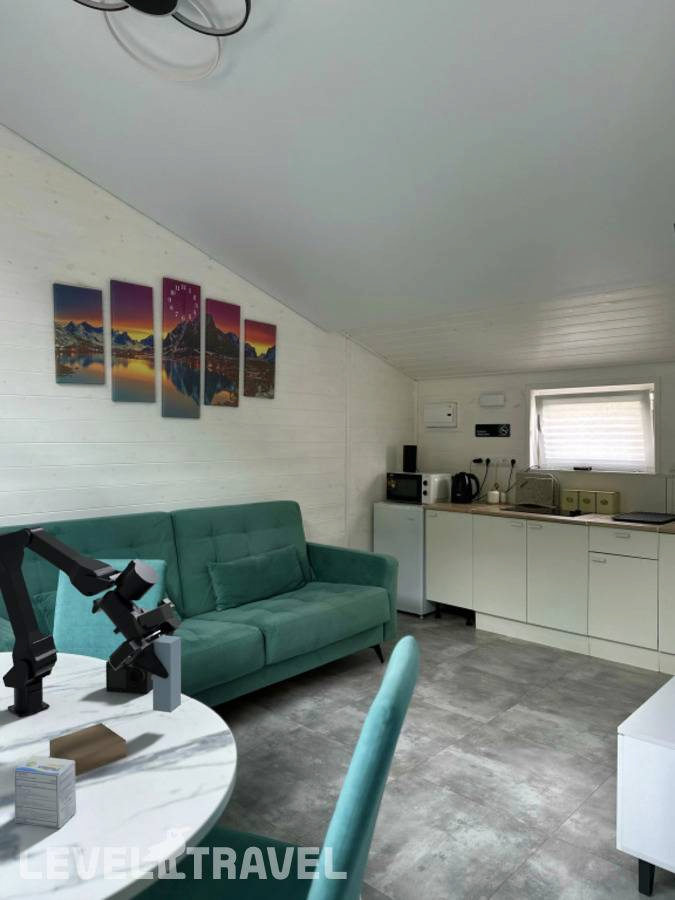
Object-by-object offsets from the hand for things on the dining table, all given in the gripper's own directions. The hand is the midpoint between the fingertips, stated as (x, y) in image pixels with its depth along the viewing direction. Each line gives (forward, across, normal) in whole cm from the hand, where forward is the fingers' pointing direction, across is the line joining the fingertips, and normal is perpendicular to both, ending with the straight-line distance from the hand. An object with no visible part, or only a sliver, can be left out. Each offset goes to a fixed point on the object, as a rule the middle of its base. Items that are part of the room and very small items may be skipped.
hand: (173, 673), depth 129 cm
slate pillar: (+4, 0, +6) cm, 7 cm away
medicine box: (+6, -32, +11) cm, 34 cm away
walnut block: (+1, -14, +15) cm, 20 cm away
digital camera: (-6, +15, +23) cm, 28 cm away
